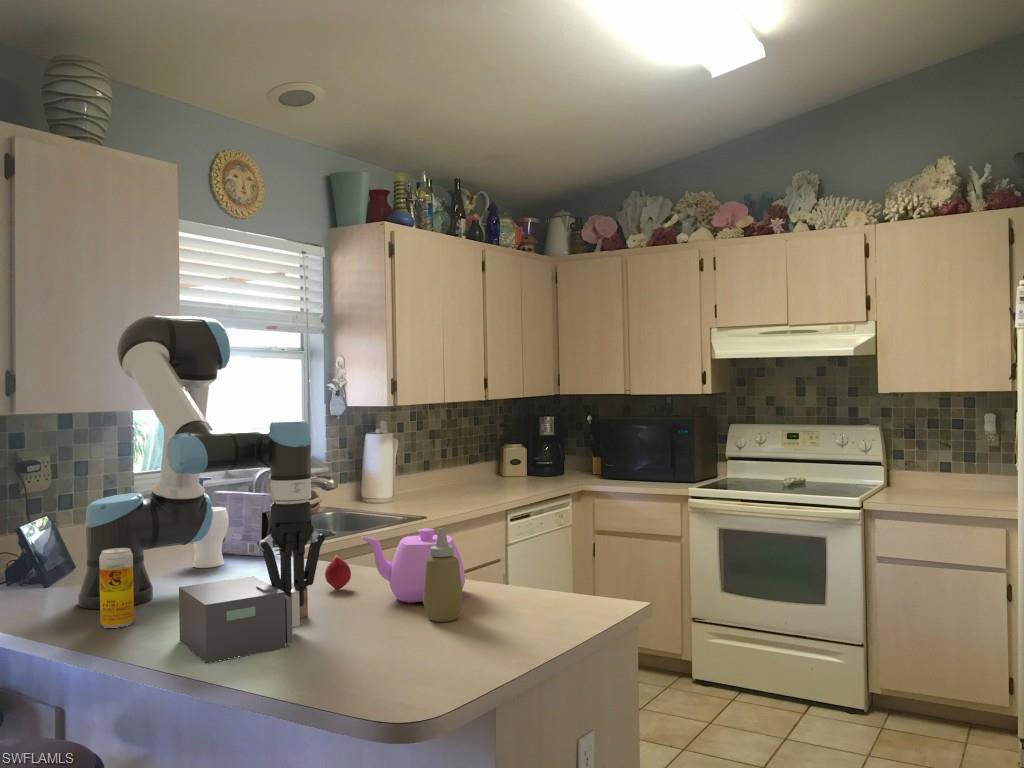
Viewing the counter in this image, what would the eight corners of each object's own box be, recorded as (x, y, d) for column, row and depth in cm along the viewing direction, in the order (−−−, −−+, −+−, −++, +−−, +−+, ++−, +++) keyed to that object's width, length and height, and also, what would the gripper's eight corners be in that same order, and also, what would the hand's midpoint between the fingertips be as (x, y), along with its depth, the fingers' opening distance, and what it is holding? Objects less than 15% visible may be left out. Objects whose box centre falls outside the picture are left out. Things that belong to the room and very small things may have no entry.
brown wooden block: (275, 615, 176) (274, 586, 176) (298, 611, 179) (298, 582, 179) (284, 620, 172) (283, 590, 172) (308, 616, 174) (307, 586, 174)
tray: (187, 637, 159) (187, 593, 159) (260, 623, 168) (260, 582, 168) (214, 658, 146) (213, 610, 146) (292, 643, 154) (291, 597, 154)
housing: (179, 640, 159) (178, 585, 159) (254, 627, 167) (253, 574, 167) (206, 663, 145) (205, 602, 145) (286, 648, 153) (285, 590, 153)
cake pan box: (275, 553, 244) (274, 491, 244) (264, 557, 239) (263, 494, 239) (222, 550, 251) (221, 490, 251) (210, 553, 246) (209, 492, 247)
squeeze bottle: (469, 614, 173) (467, 526, 173) (454, 625, 165) (452, 532, 166) (433, 612, 176) (431, 524, 176) (416, 622, 168) (414, 531, 168)
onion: (354, 587, 200) (353, 553, 200) (346, 593, 194) (346, 557, 194) (329, 587, 200) (329, 553, 200) (322, 593, 195) (321, 558, 195)
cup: (178, 568, 225) (177, 511, 226) (204, 560, 236) (203, 506, 236) (213, 570, 222) (211, 512, 222) (237, 562, 233) (236, 506, 233)
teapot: (462, 583, 202) (461, 519, 202) (467, 605, 181) (465, 534, 181) (365, 587, 200) (364, 522, 200) (358, 610, 179) (357, 538, 179)
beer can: (101, 631, 166) (99, 554, 167) (100, 623, 172) (98, 549, 172) (135, 626, 169) (133, 551, 169) (132, 619, 175) (131, 546, 175)
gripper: (264, 506, 156) (267, 635, 156) (331, 499, 164) (333, 622, 164) (250, 502, 162) (253, 626, 162) (315, 496, 170) (317, 614, 170)
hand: (293, 624), depth 163 cm, fingers closed
